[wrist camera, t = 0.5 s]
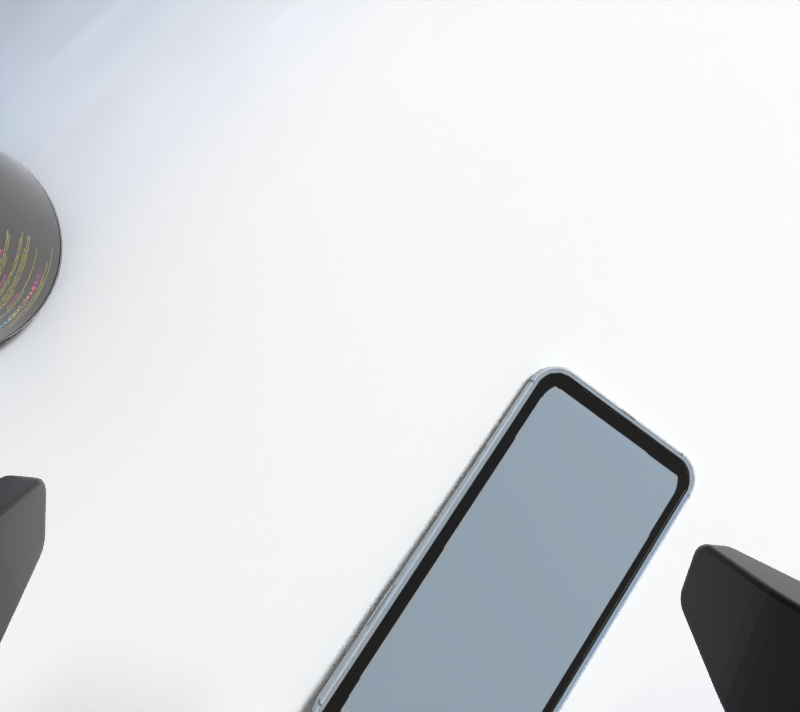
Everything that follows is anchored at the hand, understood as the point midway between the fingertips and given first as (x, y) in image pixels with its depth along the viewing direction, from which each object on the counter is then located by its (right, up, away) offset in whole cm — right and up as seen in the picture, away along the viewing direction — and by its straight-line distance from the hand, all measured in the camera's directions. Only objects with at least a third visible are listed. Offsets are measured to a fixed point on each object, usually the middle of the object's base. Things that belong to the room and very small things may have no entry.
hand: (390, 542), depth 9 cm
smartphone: (+4, -6, +15) cm, 16 cm away
